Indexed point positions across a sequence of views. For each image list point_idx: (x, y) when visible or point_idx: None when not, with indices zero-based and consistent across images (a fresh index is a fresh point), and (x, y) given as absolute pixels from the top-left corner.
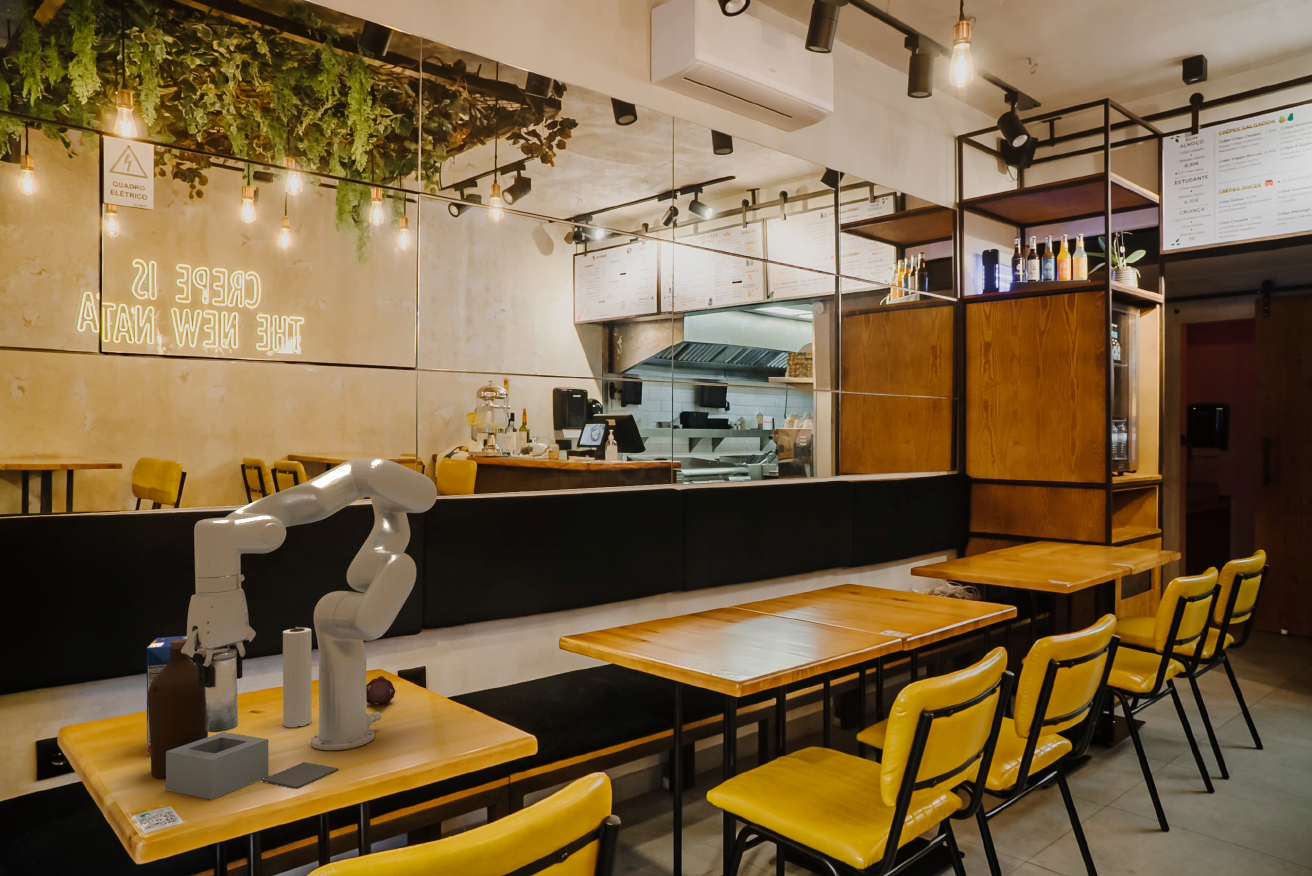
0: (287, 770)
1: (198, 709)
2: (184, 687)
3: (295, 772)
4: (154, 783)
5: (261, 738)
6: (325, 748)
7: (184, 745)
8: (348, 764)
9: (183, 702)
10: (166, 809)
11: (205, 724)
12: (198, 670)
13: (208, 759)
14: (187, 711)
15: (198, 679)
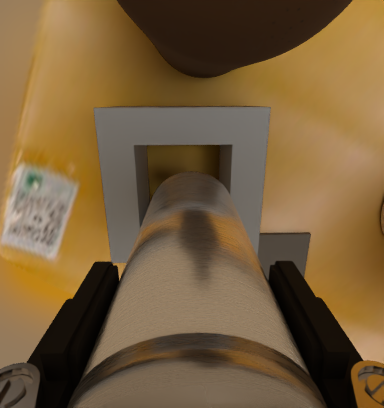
0: (267, 241)
1: (224, 68)
2: (170, 24)
3: (263, 259)
4: (129, 40)
5: (256, 243)
6: (382, 219)
7: (146, 110)
8: (325, 295)
9: (164, 47)
10: (65, 192)
11: (152, 198)
12: (35, 353)
13: (110, 251)
14: (181, 59)
15: (62, 307)
